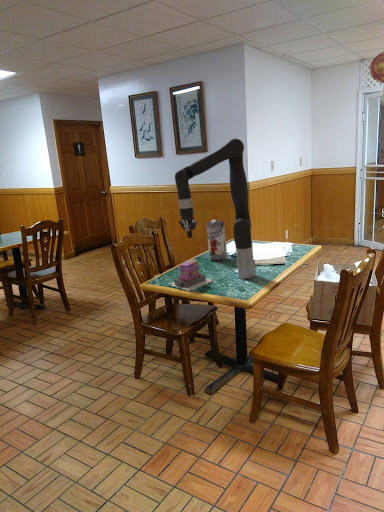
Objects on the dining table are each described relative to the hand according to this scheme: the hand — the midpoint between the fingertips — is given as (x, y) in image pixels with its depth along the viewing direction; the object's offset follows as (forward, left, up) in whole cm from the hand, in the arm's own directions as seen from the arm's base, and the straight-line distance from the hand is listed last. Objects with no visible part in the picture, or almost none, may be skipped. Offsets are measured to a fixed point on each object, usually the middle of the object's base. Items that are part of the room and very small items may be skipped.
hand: (190, 237), depth 220 cm
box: (-2, +5, -25) cm, 25 cm away
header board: (-2, +5, -26) cm, 26 cm away
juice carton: (+16, -38, -26) cm, 49 cm away
